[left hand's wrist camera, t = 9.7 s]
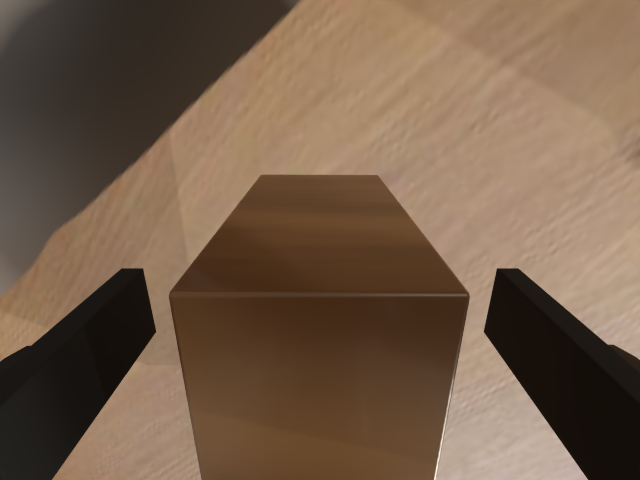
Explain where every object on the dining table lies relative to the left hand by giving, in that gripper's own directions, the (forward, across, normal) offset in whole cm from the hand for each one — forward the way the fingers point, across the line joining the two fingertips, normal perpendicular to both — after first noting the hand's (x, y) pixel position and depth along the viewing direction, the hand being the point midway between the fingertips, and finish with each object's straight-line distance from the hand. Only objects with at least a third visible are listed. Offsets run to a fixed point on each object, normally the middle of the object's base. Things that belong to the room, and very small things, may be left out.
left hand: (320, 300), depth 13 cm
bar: (+3, 0, -8) cm, 8 cm away
